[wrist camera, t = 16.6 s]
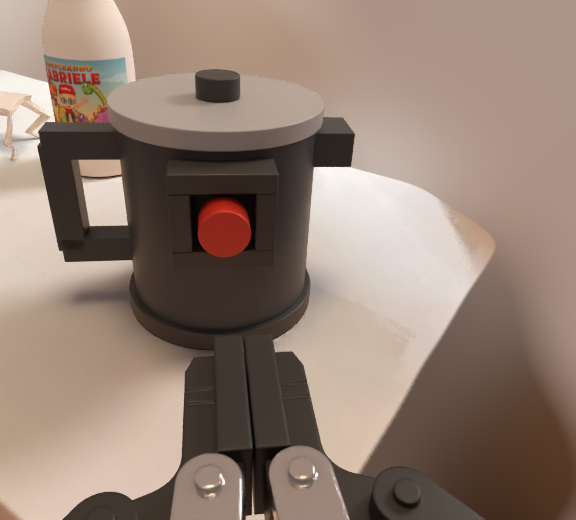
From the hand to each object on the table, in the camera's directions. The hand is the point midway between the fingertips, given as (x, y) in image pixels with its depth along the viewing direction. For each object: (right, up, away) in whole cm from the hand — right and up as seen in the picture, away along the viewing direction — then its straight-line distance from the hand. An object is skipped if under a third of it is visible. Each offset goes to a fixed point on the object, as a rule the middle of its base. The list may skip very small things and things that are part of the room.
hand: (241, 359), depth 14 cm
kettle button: (-2, +3, +11) cm, 12 cm away
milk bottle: (-17, +12, +39) cm, 45 cm away
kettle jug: (-4, 0, +21) cm, 21 cm away
